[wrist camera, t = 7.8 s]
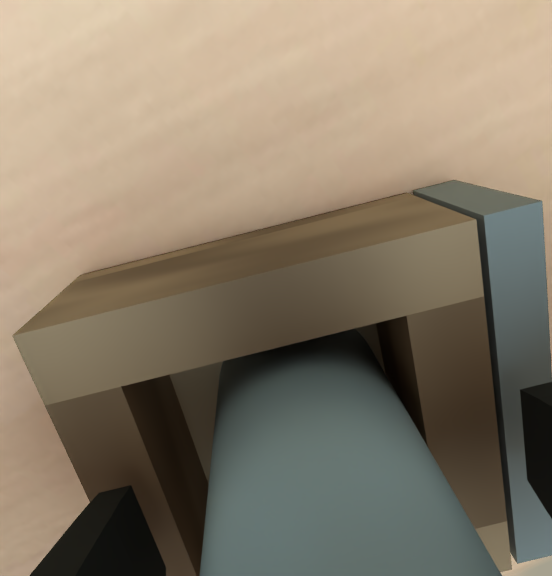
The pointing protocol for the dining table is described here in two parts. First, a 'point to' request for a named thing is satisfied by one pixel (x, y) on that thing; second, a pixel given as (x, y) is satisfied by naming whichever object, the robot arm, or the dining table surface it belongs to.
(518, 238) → the backstop wall
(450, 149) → the dining table surface
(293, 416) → the dowel
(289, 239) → the frame
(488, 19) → the dining table surface
